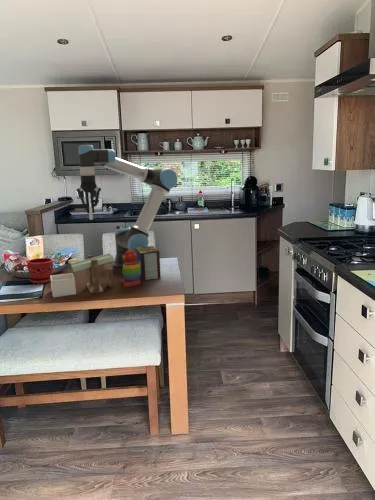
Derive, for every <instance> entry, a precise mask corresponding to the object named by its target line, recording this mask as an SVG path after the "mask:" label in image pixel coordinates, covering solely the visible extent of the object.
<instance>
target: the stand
mask: <svg viewBox="0 0 375 500" xmlns="http://www.w3.org/2000/svg"><path fill="white" fill-rule="evenodd" d="M93 257H95V255H94V254H89V255H87V259H90V258H93ZM106 274H107V275H106V276H107V286H108V287H109V288H110V287H111V288H115V287H114V271H113V268H112V267H111V266H110V267H109V266H108V267H106ZM88 281H89V283H86V284H85V285H86V287H87V289H88V291H89V292H90V294H98V293H103V292H104V289H103V288H102V286H101V285H100V277H99V265H98V263H97V259H95V260H91V267H90V268H88Z"/></svg>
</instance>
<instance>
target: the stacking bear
mask: <svg viewBox="0 0 375 500" xmlns="http://www.w3.org/2000/svg"><path fill="white" fill-rule="evenodd" d="M122 258H123V260H124V261H125V262H124V264H123V268H122V270H121V271H122V276H123V278H122V279H120V281H119V282H120V284H123V287H125V288H130V286H131V287H135V286H138V285H140V284H142V283H141V282H142V280H141V278H140V273H141V271H140V266H139V263H138V262H137V261H136V258H137V254H136V252H135V251H133V250H128V251H126V252H125V253H124V255H123V257H122Z"/></svg>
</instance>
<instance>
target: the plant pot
mask: <svg viewBox="0 0 375 500" xmlns="http://www.w3.org/2000/svg"><path fill="white" fill-rule="evenodd" d="M26 266H27V271H28V274H29V276H30V278H29V281H30V283H32V284H35V283H37V284H36V285H38V284H39V285H40V283H41V284H45V283H49V282H51V280H50V276H52V275H53V272H54V259H52V258H47V257H40V258H39V257H38V258H33V259H32V258H31V259H29V260H27V262H26Z"/></svg>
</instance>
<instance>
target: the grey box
mask: <svg viewBox="0 0 375 500" xmlns="http://www.w3.org/2000/svg"><path fill="white" fill-rule="evenodd" d="M75 279H76V278H75V276H74V274H73V273H72V272H70V273H69V272H68V273H60V274H54V275H53V274H52V275H51V276H50V280H51V281H50V287H51V294H52V297H53V298H59V297H66V296H73V295H77V291H76V280H75Z"/></svg>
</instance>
